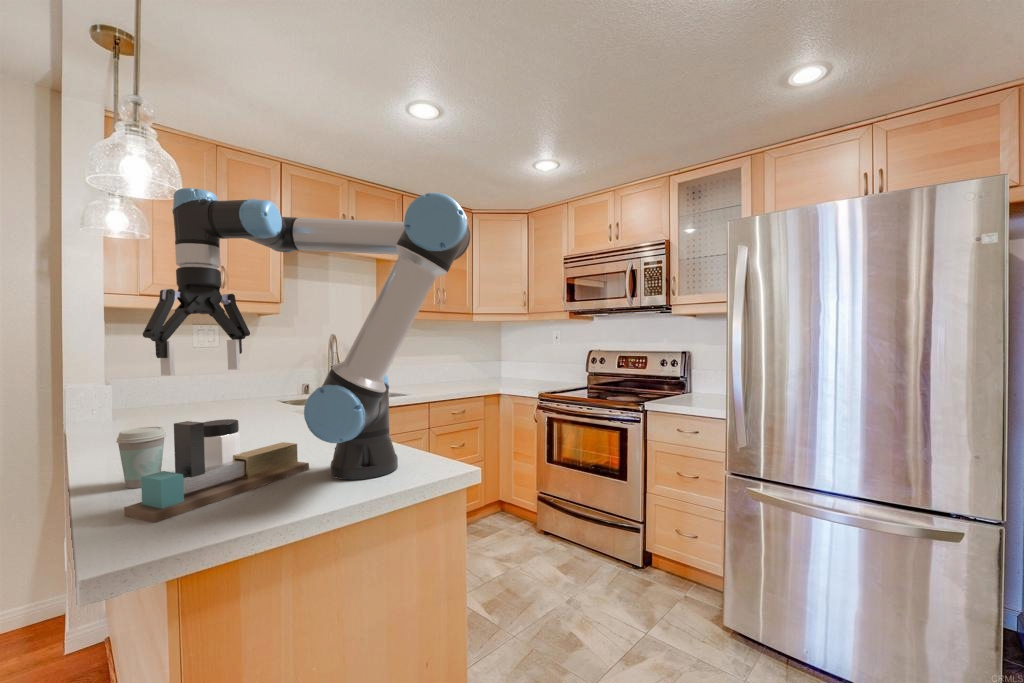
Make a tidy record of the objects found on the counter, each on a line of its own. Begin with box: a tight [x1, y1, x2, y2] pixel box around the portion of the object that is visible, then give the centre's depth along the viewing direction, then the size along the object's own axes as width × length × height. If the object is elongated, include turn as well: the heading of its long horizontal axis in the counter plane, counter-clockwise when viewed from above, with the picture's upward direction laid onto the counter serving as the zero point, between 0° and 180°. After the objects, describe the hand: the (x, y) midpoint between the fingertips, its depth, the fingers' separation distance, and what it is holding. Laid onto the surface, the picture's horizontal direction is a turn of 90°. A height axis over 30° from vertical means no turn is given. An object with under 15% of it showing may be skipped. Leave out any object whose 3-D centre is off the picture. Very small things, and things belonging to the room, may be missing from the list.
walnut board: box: [123, 461, 310, 523], centre depth 95 cm, size 33×9×2 cm, turn 157°
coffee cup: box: [115, 426, 167, 489], centre depth 100 cm, size 9×8×12 cm
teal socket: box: [141, 470, 184, 509], centre depth 83 cm, size 4×6×5 cm, turn 67°
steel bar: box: [173, 420, 246, 494], centre depth 91 cm, size 20×5×13 cm, turn 157°
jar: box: [203, 418, 241, 468], centre depth 107 cm, size 9×8×12 cm
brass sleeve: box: [233, 441, 299, 480], centre depth 103 cm, size 13×5×5 cm, turn 157°
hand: (203, 372), depth 92 cm, fingers open, 13 cm apart
